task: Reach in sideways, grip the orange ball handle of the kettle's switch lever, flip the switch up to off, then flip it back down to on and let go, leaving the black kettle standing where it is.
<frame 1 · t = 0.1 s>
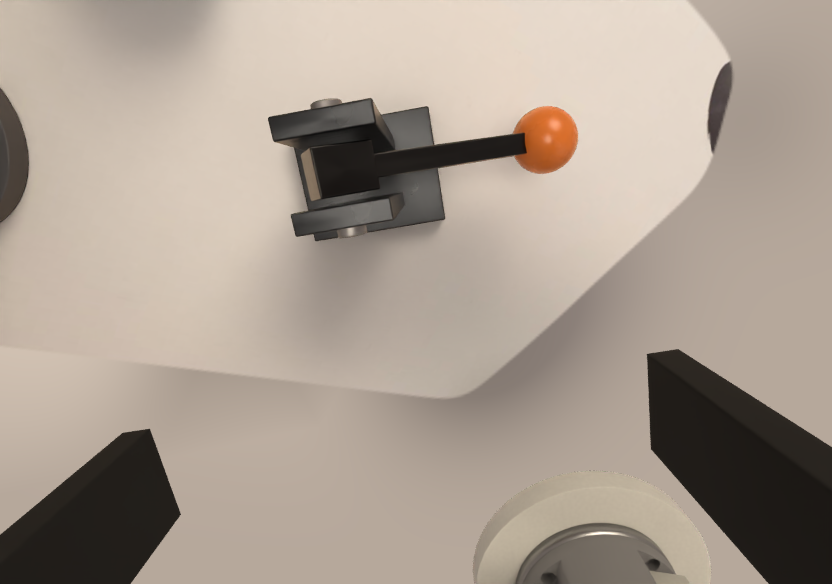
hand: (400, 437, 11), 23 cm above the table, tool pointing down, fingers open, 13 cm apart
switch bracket: (371, 176, 32), on the table
switch: (455, 154, 22), point 10 cm above the table, hinge at -25.0°
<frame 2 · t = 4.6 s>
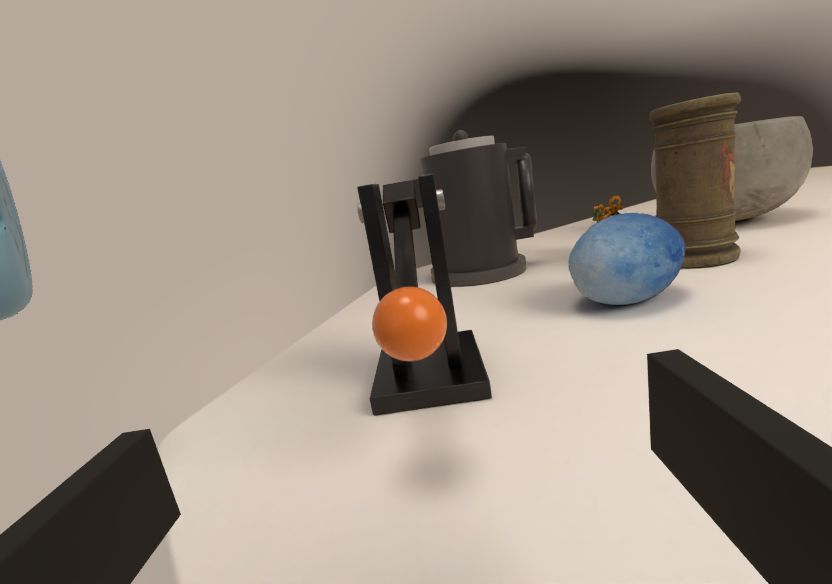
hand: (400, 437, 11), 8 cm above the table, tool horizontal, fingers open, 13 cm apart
egg: (634, 297, 43), on the table
kettle: (478, 273, 64), on the table
bowl: (723, 222, 70), on the table
container: (694, 260, 52), on the table
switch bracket: (430, 374, 33), on the table
switch: (404, 256, 25), point 10 cm above the table, hinge at -25.0°
figurine: (616, 253, 62), on the table
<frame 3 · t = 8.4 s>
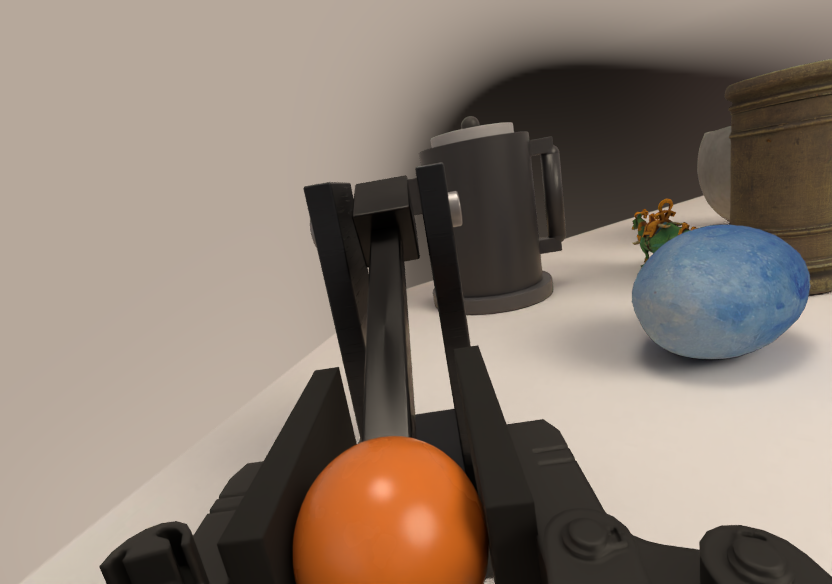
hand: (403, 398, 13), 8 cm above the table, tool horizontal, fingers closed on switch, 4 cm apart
egg: (723, 343, 30), on the table
kettle: (492, 295, 51), on the table
bowl: (788, 230, 58), on the table
container: (781, 284, 39), on the table
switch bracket: (436, 489, 20), on the table
switch: (388, 325, 12), point 10 cm above the table, hinge at -25.0°, touching gripper
figurine: (665, 271, 49), on the table
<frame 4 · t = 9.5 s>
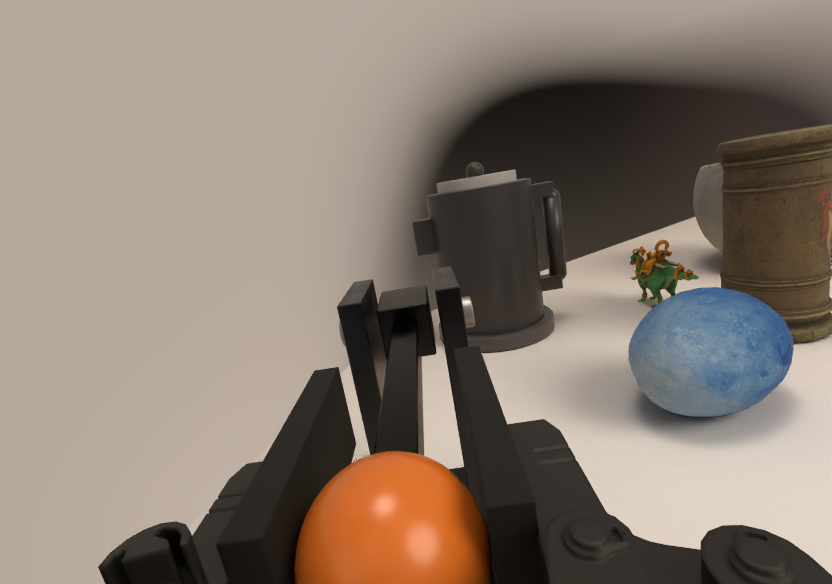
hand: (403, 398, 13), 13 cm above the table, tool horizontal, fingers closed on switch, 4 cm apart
egg: (714, 396, 32), on the table
kettle: (495, 329, 53), on the table
bowl: (781, 263, 60), on the table
container: (771, 328, 41), on the table
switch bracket: (450, 551, 22), on the table
switch: (403, 392, 13), point 13 cm above the table, hinge at -3.1°, touching gripper
figurine: (662, 307, 51), on the table
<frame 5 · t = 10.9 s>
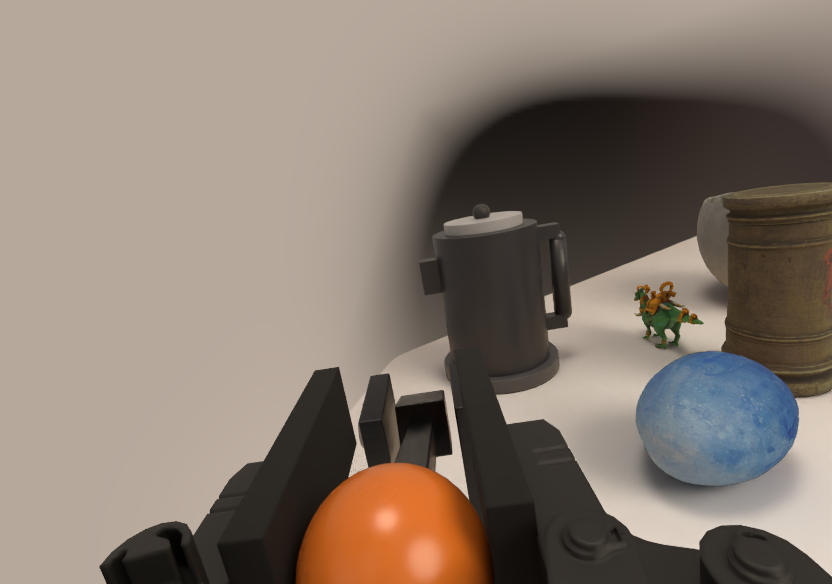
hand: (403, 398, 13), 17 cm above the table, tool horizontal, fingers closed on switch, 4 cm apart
egg: (720, 457, 33), on the table
kettle: (501, 366, 54), on the table
bowl: (783, 297, 60), on the table
container: (775, 376, 42), on the table
switch: (416, 466, 14), point 15 cm above the table, hinge at 19.4°, touching gripper
figurine: (666, 346, 52), on the table
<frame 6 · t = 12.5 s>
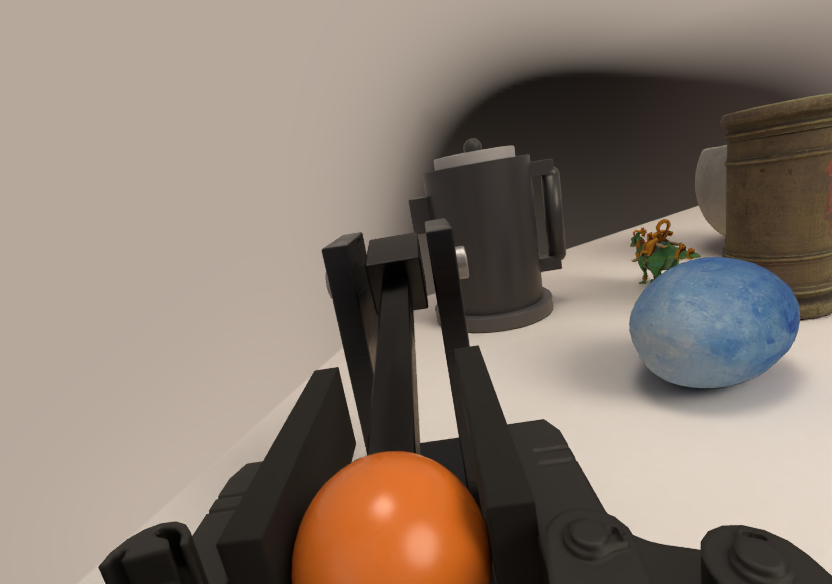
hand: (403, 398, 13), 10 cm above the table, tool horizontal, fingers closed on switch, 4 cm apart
egg: (717, 370, 31), on the table
kettle: (493, 311, 52), on the table
bowl: (783, 246, 59), on the table
container: (774, 306, 40), on the table
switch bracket: (442, 520, 22), on the table
switch: (396, 361, 13), point 11 cm above the table, hinge at -14.2°, touching gripper
figurine: (663, 289, 50), on the table
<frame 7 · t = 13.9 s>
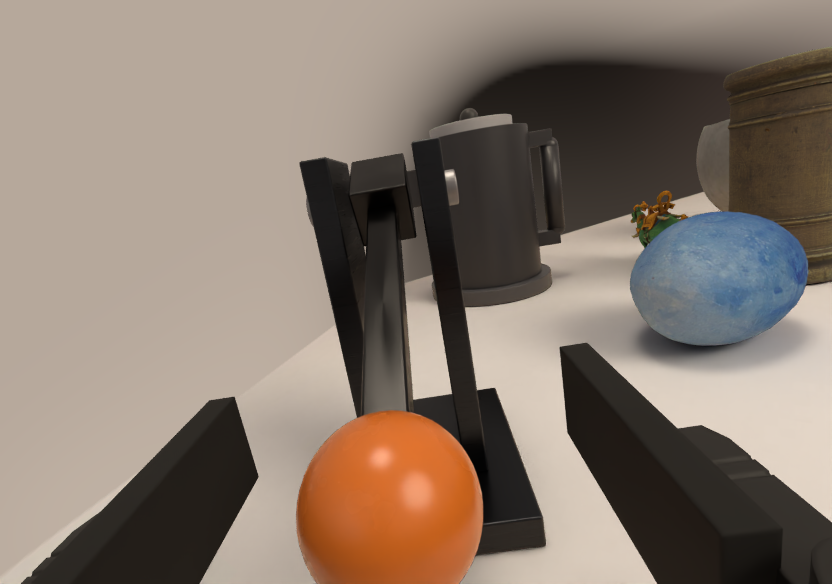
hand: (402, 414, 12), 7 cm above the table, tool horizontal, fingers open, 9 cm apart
egg: (721, 331, 30), on the table
kettle: (491, 288, 51), on the table
bowl: (787, 224, 58), on the table
container: (779, 274, 39), on the table
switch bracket: (433, 471, 20), on the table
switch: (385, 303, 13), point 10 cm above the table, hinge at -28.0°
figurine: (664, 264, 49), on the table
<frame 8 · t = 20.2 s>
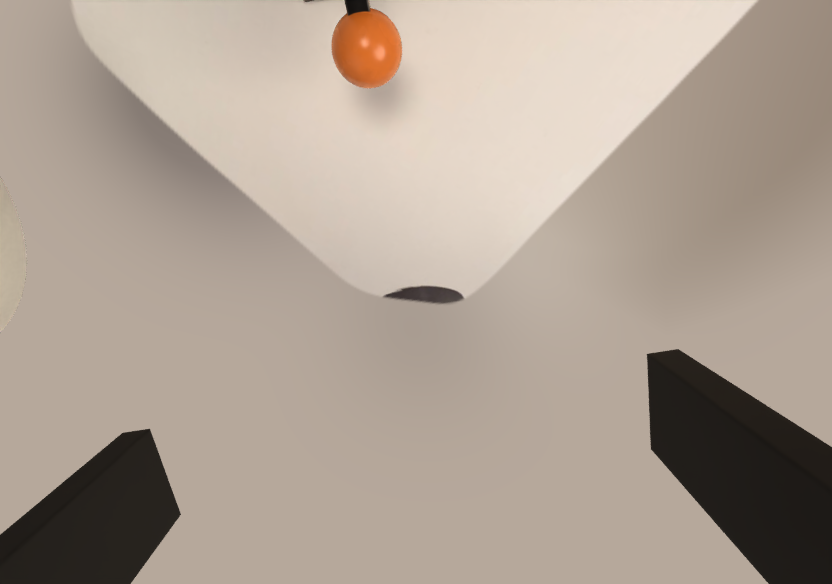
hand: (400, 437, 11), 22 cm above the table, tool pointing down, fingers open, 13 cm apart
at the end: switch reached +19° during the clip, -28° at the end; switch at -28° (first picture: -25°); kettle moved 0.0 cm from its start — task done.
